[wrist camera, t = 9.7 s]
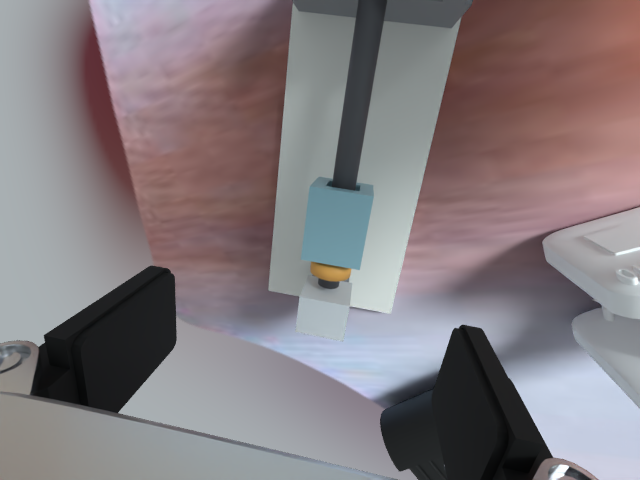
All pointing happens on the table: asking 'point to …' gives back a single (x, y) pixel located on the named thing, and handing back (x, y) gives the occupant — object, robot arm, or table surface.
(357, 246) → the sleeve
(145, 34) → the table surface
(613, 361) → the cable organizer
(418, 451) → the end cap
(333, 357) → the table surface
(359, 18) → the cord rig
